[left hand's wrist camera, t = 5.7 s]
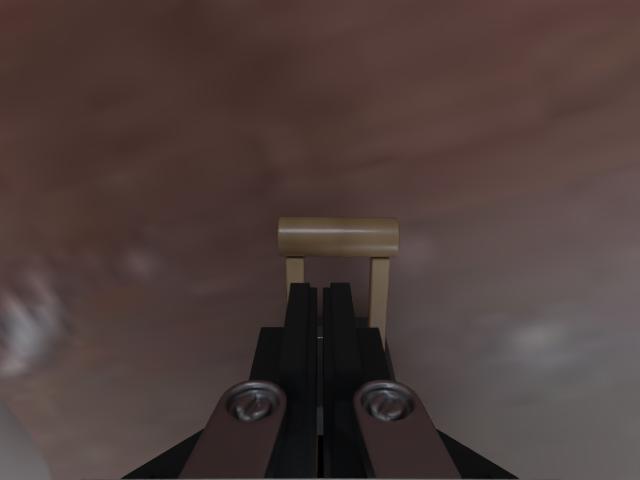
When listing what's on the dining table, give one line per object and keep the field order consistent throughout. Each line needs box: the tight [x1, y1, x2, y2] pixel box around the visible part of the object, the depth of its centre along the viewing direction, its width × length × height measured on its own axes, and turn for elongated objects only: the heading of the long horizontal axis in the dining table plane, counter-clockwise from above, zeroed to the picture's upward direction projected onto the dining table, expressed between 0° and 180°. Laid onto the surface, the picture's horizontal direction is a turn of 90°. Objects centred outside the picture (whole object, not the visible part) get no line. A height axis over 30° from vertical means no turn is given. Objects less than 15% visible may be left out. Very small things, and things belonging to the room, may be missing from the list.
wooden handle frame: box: [278, 217, 399, 478], centre depth 18 cm, size 20×4×6 cm, turn 0°
